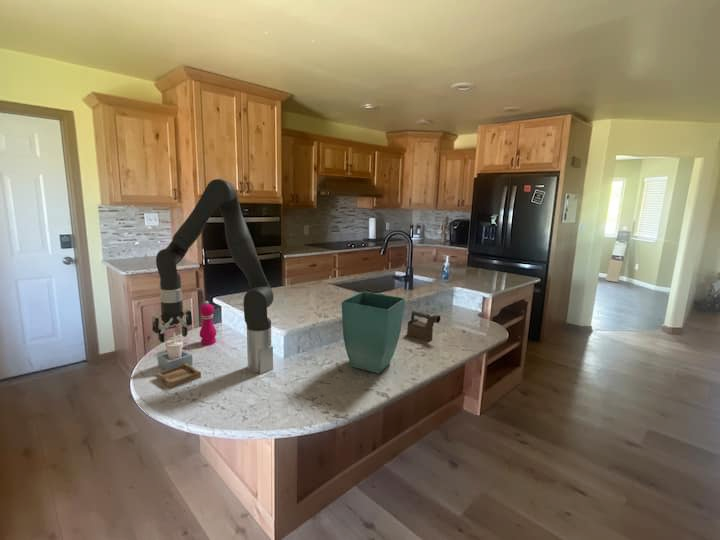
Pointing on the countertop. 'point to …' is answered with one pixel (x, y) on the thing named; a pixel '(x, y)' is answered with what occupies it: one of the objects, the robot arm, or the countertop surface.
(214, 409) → the countertop surface
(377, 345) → the flower pot
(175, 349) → the smoothie
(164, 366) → the holder
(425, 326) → the dark brown boxy piece
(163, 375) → the tray
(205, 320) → the pepper mill
